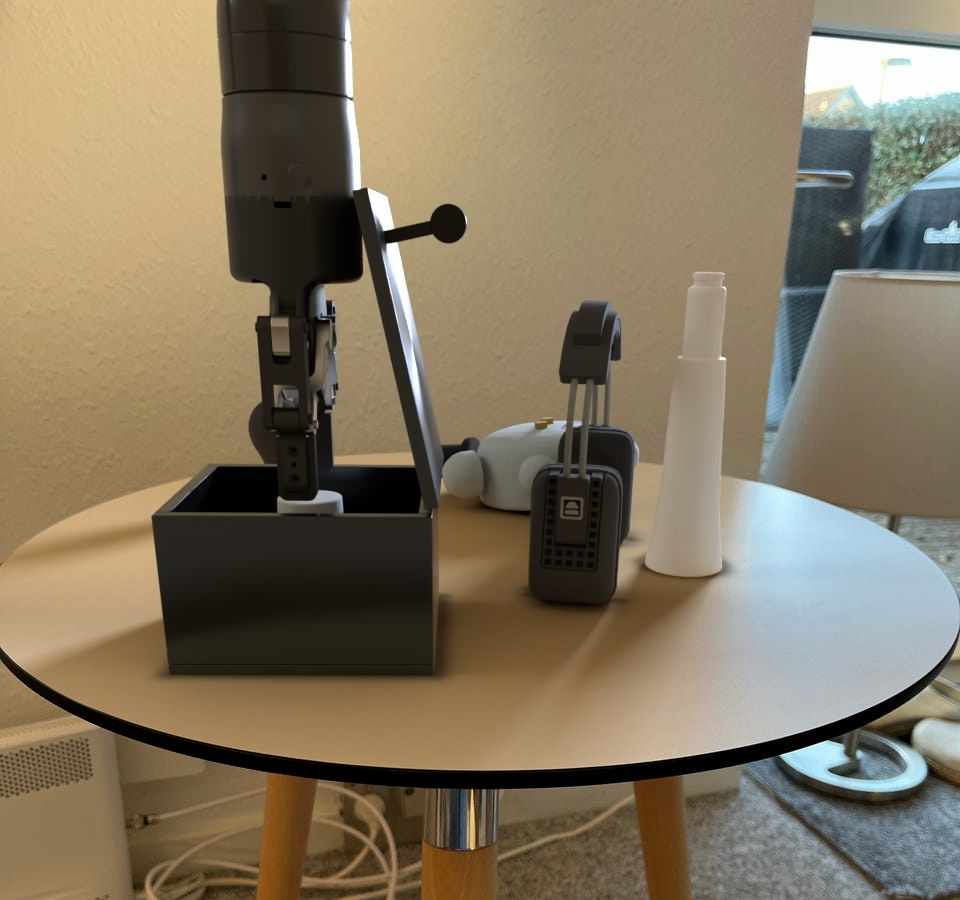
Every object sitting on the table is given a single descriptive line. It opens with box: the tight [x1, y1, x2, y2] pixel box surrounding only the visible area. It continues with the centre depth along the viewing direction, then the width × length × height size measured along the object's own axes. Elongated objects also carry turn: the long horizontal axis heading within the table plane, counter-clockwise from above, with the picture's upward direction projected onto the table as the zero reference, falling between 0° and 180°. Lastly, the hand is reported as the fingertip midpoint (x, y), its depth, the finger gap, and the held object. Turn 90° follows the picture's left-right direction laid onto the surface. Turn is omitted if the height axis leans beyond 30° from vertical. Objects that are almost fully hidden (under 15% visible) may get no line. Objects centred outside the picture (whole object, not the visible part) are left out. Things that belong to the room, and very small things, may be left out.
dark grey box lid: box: [352, 186, 468, 510], centre depth 59 cm, size 17×14×5 cm
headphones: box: [527, 300, 635, 605], centre depth 77 cm, size 22×6×20 cm, turn 169°
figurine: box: [441, 416, 640, 512], centre depth 99 cm, size 17×8×20 cm
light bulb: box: [247, 398, 295, 464], centre depth 97 cm, size 6×6×10 cm
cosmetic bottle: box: [644, 271, 728, 578], centre depth 77 cm, size 6×6×22 cm
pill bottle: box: [277, 490, 343, 513], centre depth 65 cm, size 5×5×8 cm
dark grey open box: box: [150, 463, 440, 677], centre depth 65 cm, size 16×14×10 cm
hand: (308, 483), depth 63 cm, fingers open, 7 cm apart
